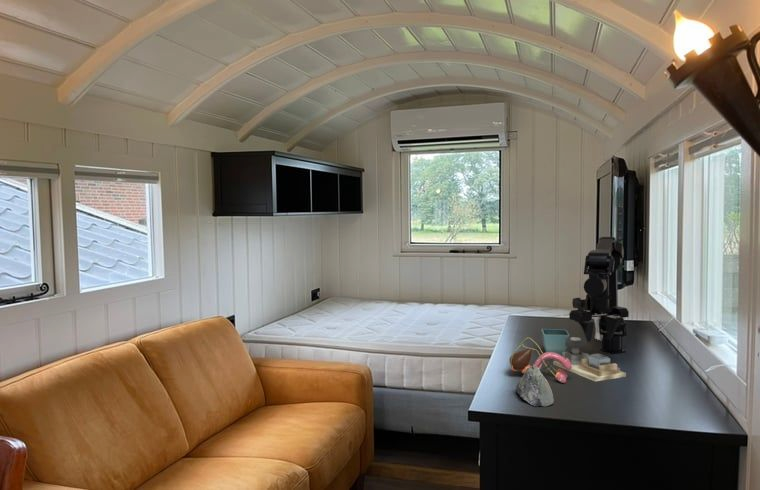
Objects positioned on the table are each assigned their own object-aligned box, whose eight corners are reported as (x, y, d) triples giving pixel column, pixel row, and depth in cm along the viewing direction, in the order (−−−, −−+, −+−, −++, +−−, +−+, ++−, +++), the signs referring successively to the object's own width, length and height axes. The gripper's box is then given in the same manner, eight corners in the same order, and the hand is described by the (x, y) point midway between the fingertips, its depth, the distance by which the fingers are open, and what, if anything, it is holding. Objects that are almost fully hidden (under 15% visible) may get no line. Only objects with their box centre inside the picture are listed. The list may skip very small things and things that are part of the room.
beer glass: (597, 336, 220) (597, 300, 219) (615, 338, 215) (615, 301, 214) (590, 339, 215) (590, 302, 214) (607, 341, 210) (607, 304, 209)
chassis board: (581, 360, 186) (581, 348, 186) (625, 376, 167) (626, 363, 167) (553, 364, 182) (553, 352, 182) (594, 381, 163) (594, 368, 163)
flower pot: (569, 360, 187) (569, 334, 186) (543, 359, 188) (543, 334, 188) (566, 353, 195) (566, 329, 195) (541, 352, 197) (541, 328, 196)
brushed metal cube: (598, 367, 173) (598, 353, 172) (610, 372, 168) (610, 356, 168) (588, 369, 171) (588, 354, 171) (599, 373, 167) (599, 358, 166)
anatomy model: (577, 376, 157) (537, 331, 161) (537, 405, 163) (500, 361, 166) (580, 365, 168) (543, 324, 171) (543, 393, 173) (507, 352, 177)
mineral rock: (517, 390, 158) (516, 356, 157) (555, 393, 154) (555, 359, 153) (512, 405, 146) (511, 369, 145) (553, 409, 142) (553, 372, 141)
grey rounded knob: (576, 350, 184) (576, 335, 184) (589, 355, 178) (589, 339, 178) (561, 352, 182) (561, 337, 181) (574, 357, 176) (574, 341, 175)
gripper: (604, 286, 179) (604, 332, 180) (557, 290, 173) (558, 338, 173) (630, 290, 168) (629, 339, 169) (581, 295, 162) (581, 346, 163)
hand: (599, 340), depth 169 cm, fingers open, 8 cm apart
